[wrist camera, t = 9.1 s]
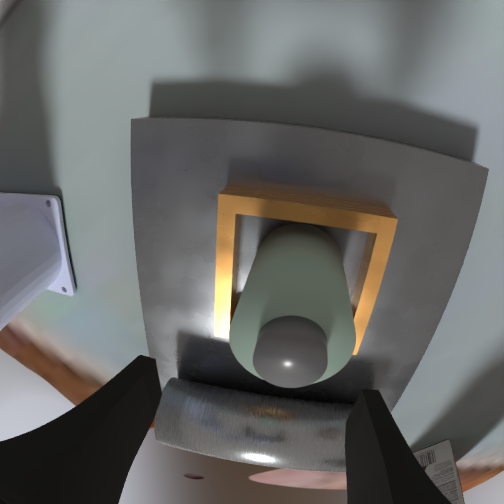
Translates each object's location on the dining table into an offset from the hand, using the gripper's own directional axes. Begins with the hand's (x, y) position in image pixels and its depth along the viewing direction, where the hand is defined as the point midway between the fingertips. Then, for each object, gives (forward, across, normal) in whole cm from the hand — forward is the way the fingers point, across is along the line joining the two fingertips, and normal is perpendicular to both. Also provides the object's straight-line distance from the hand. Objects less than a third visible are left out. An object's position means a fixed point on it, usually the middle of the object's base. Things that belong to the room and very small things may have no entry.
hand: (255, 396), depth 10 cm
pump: (+7, -1, -2) cm, 8 cm away
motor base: (+9, -1, +3) cm, 10 cm away
